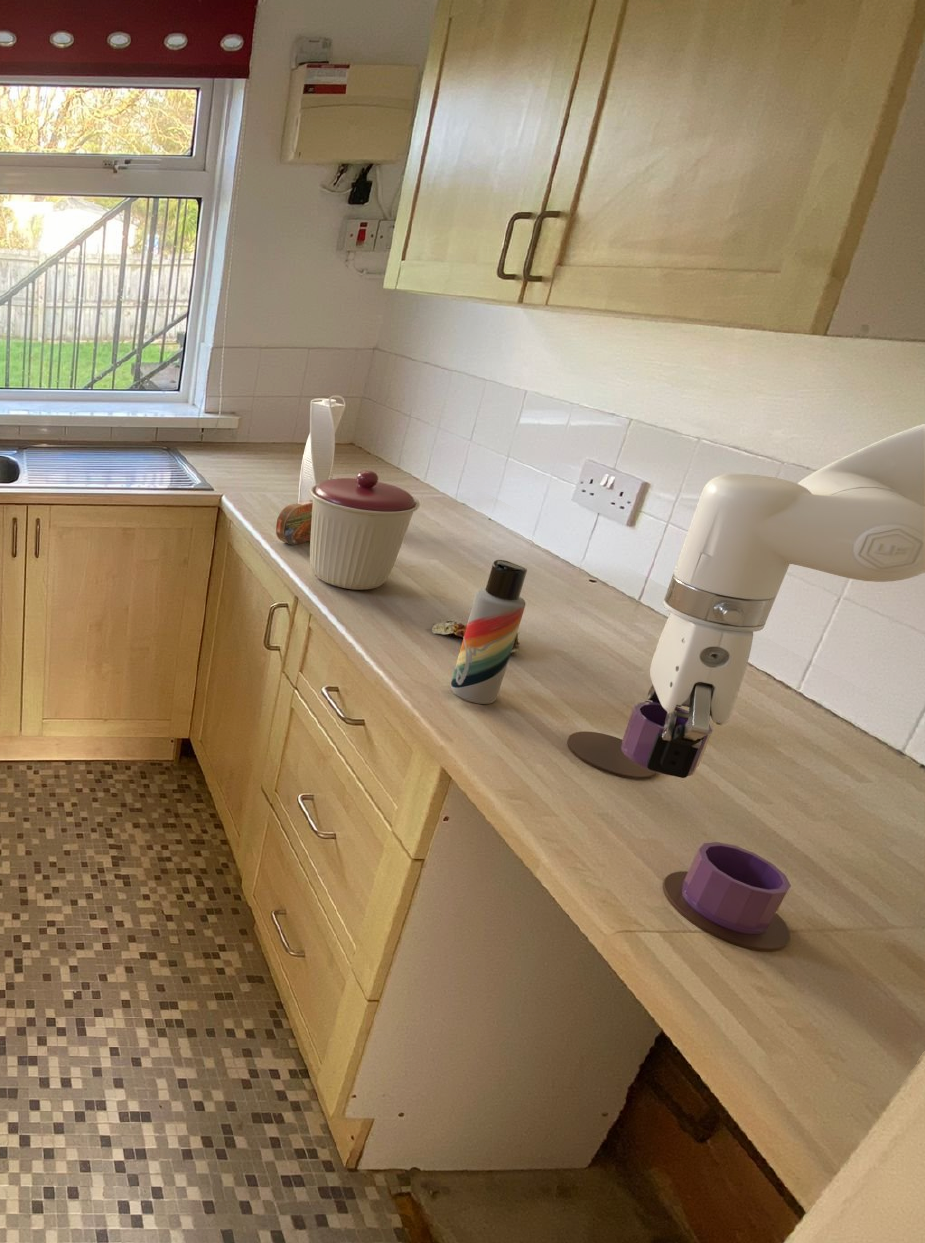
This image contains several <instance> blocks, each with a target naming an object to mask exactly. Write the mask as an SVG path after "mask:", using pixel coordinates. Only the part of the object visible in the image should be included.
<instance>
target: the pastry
mask: <svg viewBox="0 0 925 1243" xmlns="http://www.w3.org/2000/svg"><path fill="white" fill-rule="evenodd" d="M466 627H467V624H463V623H461V622H460V623H459V622H458V623H457V621H454V620H451V619H446V621H444V622H443V621H438V622H436V623H433V625H432V628H431V632H432V634H437V635H438V634H439V635H442V636H443V635H449V634H450V635H451V634H454V635H455V636H456V637H461V638H464V635H465V631H466ZM520 645H521V644H520V641H519V632H518V631H517V635H516V638H515V641H514V644H513V648H512V651H511V653H517V652H518V651H520V649H519V647H520Z"/></svg>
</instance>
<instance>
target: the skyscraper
mask: <svg viewBox="0 0 925 1243" xmlns="http://www.w3.org/2000/svg"><path fill="white" fill-rule="evenodd" d="M334 398H337V399H341V401H342V402H343V404H342V403H338V402H337V400H336V399H334ZM346 406H347V404H346V401H345V398H344V397H343V396H342V395H340V394H339V395H338V394H334V395H333V394H332V395H331V396H329V397H328V398H325V397H316V398H312V399H311V400H310V406H309V407H310V410H309V434H308V436H307V439H306V444H305V447H304V451H303V455H302V460H301V465H300V466H301V467H300V473H299V486H298V502H297V503H300V502H304V501H309V500H313V496H312V495H311V493H310V489H311V488H312V487H313V486H314V485H317V484H320V483H322V482H324V481H327V480H332V479H334V476H333V474H332V473H333V469H334V461H335V451H336V435H335V434H336V432H337V429H338V427H339V424H340V422H341V419H342V417H343V414H344V411H345V409H346Z"/></svg>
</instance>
